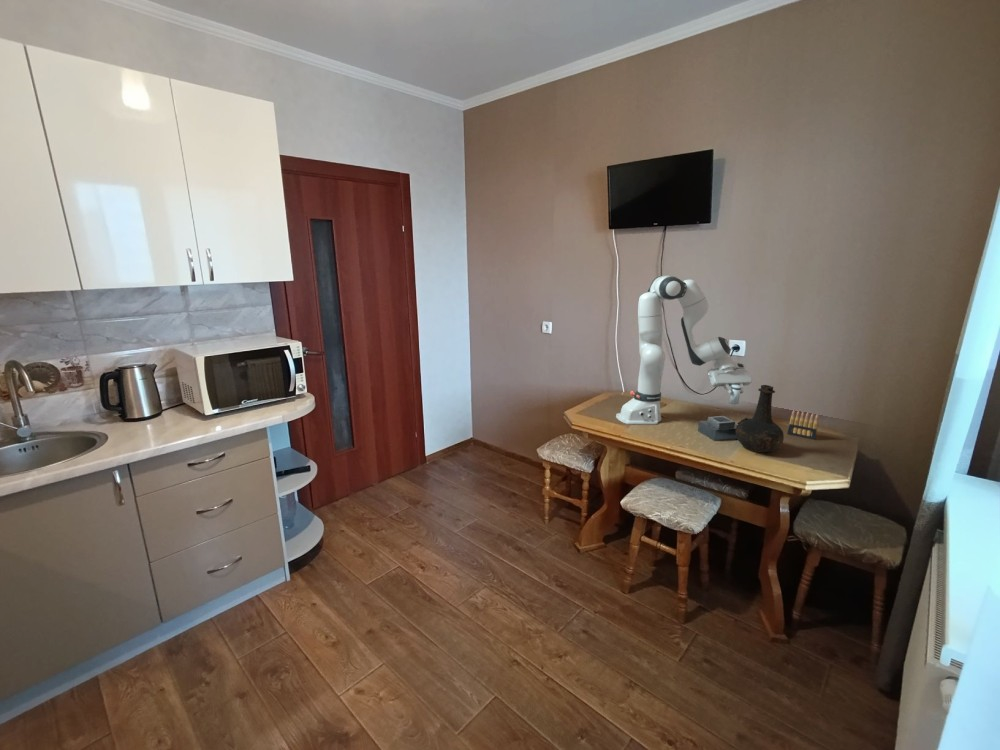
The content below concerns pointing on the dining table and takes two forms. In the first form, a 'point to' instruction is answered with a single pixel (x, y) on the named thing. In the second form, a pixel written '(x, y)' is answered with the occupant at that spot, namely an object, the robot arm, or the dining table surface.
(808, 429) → the ammunition clip
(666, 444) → the dining table surface
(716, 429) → the square socket base
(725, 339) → the robot arm
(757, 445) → the glass bottle
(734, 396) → the dome-capped cylinder
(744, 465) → the dining table surface
